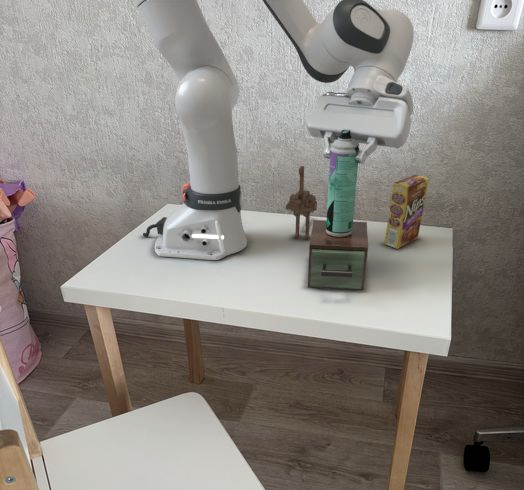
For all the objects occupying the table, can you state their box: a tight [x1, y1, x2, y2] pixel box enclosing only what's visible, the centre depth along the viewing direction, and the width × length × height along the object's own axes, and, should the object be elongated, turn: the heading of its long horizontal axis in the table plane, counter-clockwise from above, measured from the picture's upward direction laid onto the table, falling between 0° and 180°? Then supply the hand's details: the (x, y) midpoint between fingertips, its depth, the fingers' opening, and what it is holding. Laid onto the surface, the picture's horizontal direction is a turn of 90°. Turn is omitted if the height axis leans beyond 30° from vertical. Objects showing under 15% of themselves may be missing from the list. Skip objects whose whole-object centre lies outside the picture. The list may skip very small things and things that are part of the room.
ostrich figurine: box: [285, 165, 318, 241], centre depth 132 cm, size 17×7×18 cm, turn 163°
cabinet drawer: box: [310, 249, 365, 289], centre depth 110 cm, size 17×10×8 cm, turn 172°
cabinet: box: [307, 219, 369, 291], centre depth 114 cm, size 14×12×10 cm
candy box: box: [384, 174, 430, 250], centre depth 126 cm, size 9×4×15 cm, turn 134°
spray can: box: [325, 130, 360, 237], centre depth 105 cm, size 6×6×20 cm
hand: (343, 159), depth 102 cm, fingers closed on spray can, 5 cm apart
